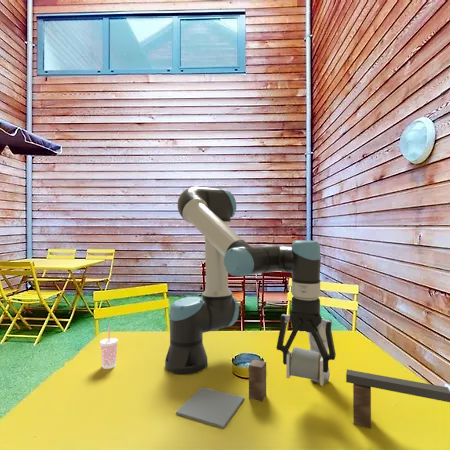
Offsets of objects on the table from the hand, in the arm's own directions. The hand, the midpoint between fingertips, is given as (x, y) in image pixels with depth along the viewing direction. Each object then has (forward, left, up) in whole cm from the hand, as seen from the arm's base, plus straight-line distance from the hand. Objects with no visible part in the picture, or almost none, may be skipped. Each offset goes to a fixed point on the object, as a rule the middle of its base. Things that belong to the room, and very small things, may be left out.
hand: (305, 379), depth 85 cm
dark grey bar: (+22, 0, +2) cm, 22 cm away
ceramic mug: (-1, +4, -1) cm, 4 cm away
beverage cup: (-69, -3, -8) cm, 69 cm away
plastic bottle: (+1, +17, -8) cm, 19 cm away
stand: (0, 0, -8) cm, 8 cm away
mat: (-24, -10, -8) cm, 27 cm away
